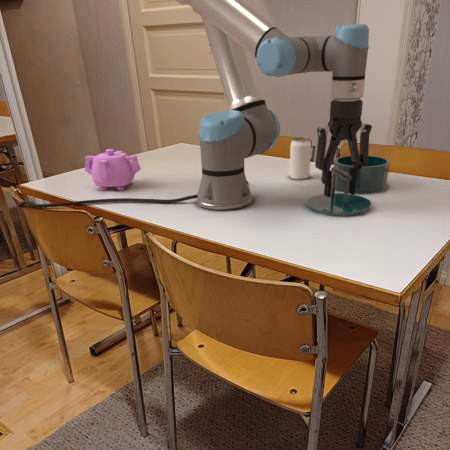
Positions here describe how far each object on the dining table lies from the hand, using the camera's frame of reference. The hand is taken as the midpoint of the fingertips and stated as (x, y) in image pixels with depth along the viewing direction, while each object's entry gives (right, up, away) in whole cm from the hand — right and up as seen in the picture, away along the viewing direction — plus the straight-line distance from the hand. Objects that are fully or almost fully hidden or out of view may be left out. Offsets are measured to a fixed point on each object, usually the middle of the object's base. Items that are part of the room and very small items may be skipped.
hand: (339, 194), depth 122 cm
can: (-6, +12, +29) cm, 32 cm away
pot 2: (+10, +6, +18) cm, 22 cm away
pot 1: (-65, +9, +28) cm, 72 cm away
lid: (0, -2, +1) cm, 3 cm away
